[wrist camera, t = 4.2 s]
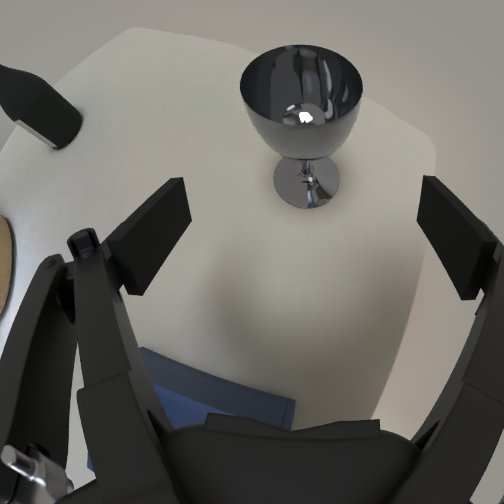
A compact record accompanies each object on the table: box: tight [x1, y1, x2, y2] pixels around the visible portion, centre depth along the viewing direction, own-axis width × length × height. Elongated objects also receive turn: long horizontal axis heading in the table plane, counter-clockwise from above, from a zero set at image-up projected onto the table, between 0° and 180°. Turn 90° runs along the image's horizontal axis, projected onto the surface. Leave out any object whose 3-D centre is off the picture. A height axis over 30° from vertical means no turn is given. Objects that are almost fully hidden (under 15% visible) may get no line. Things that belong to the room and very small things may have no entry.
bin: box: [87, 347, 296, 472], centre depth 23 cm, size 18×15×8 cm
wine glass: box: [240, 45, 363, 208], centre depth 23 cm, size 8×8×15 cm
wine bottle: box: [0, 65, 81, 149], centre depth 26 cm, size 8×8×30 cm
